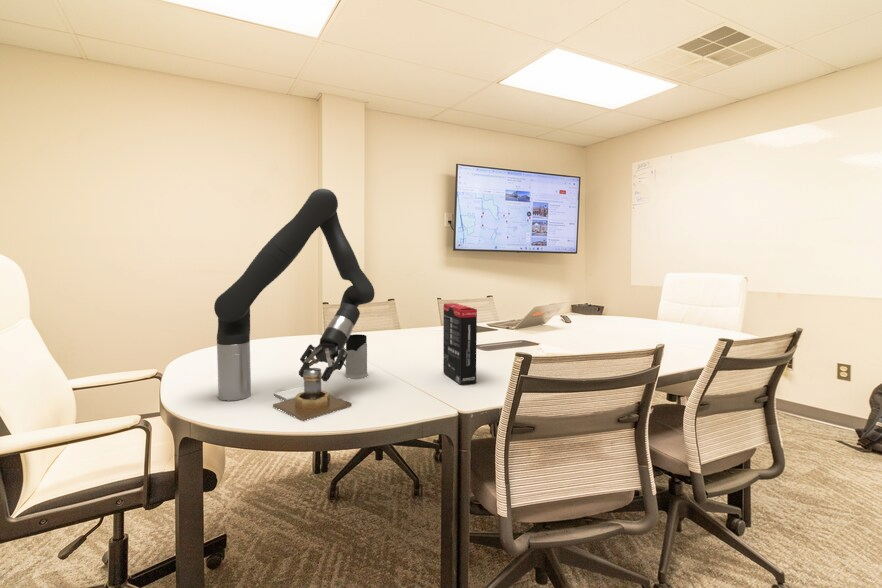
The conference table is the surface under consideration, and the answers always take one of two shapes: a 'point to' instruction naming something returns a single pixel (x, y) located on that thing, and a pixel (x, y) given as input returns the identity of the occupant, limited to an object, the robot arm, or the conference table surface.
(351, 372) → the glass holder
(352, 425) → the conference table surface
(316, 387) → the cylinder
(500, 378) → the conference table surface
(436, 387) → the conference table surface
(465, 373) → the graphics card box
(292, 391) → the external hard drive
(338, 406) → the octagon frame base plate
